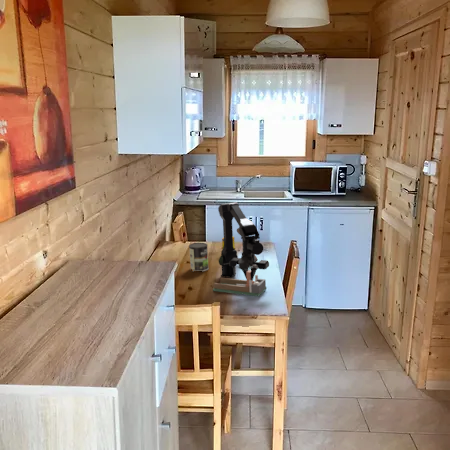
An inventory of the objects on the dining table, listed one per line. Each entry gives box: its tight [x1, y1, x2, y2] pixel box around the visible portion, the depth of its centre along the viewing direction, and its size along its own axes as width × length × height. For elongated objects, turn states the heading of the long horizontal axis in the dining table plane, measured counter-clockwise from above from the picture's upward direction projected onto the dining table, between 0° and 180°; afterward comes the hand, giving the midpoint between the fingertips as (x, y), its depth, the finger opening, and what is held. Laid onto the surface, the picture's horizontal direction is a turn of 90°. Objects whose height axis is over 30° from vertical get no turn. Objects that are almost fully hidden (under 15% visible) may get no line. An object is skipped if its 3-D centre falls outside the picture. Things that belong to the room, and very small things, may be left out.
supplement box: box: [221, 236, 236, 250], centre depth 299 cm, size 6×6×11 cm
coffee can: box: [188, 242, 209, 272], centre depth 274 cm, size 10×10×14 cm
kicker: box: [236, 269, 255, 287], centre depth 239 cm, size 8×6×9 cm
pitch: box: [212, 274, 267, 297], centre depth 240 cm, size 24×11×7 cm, turn 66°
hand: (249, 280), depth 238 cm, fingers closed on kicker, 2 cm apart
